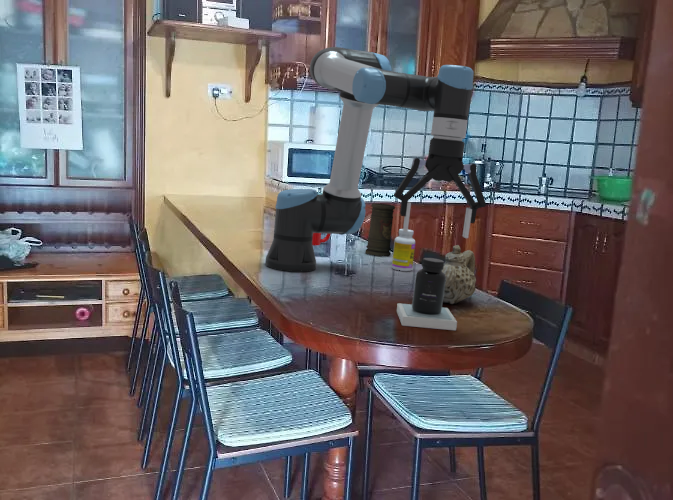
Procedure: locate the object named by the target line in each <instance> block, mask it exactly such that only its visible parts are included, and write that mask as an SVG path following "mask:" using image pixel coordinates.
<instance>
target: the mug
mask: <svg viewBox="0 0 673 500" xmlns="http://www.w3.org/2000/svg"><path fill="white" fill-rule="evenodd" d="M330 238H331V234H328V233H326V235H325V237H324V238H322V233H313V239H312V245H313V246H320V245H321V243H326V242H328V241H329V239H330Z"/></svg>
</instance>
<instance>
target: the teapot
mask: <svg viewBox="0 0 673 500" xmlns="http://www.w3.org/2000/svg"><path fill="white" fill-rule="evenodd" d="M461 250H462V249H461V247H460V245H459V244H457V245H453V246H452V251H450V252H448V253H446V254H445V258H444V260H445V261H444V269H443V270H442V272H443V273H444V274H445V275H446V284H445V291H444V297H443V303H446V304H450V305H454V304H458V303H460V302H461V301H465V300H466V299H467V298H469V297H471V296H472V295H474V294H475V292H476V282H477V279H476V276H475V271H476V269H475V268H476V256H475V253H474V252H473V251H472V250H470V249H468V250H465V251H463V252H461Z"/></svg>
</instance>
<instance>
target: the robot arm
mask: <svg viewBox="0 0 673 500" xmlns="http://www.w3.org/2000/svg"><path fill="white" fill-rule="evenodd" d="M313 55H314V56H313V57H312V58H311V60H310V64H309V73H310V76H311V79H312V80H313V81H314V83H316V85H318V86H319V87H322V88H324V89H328V90H331V91H337V92H339V98H340V100H341V102H342V104H343V105H342V112H341V118H340V121H339V127H338V132H337V133H338V135H337V139H336V146H335V152H334V157H333V162H332V167H331V173H330V178H329V182H328V183H327V184H326V185H324V186H323V188H322V194H319V193H318V192H317V190H316V189H312V188H292V189H291V188H290V189H285V190H281V191H280V192H278V194H277V197H276V203H275V216H274V227H273V228H274V230H273V239H272V242H271V245H270V247H269V249H268V252H267V254H266V256H265V266H266V267H268V268H271V269H274V270H279V271H284V272H285V271H286V272H296V273H297V272H298V273H299V272H302V273H304V272H311V271H315V270H316V268H317V259H316V254H315V250H314V245H312V239H313V233H321V234H327V233H328V234H333V235H341V236H343V235H352V234H355V233H356V232H358V231H359V230H360V229H361V228H362V225H363V224H364V221H365V217H366V211H367V210H366V202H365V200H364V199H363V198H362V192H361V191H360V190H359V188H358V187H359V183H360V177H361V172H362V167H363V161H364V156H365V151H366V148H367V147H366V146H367V142H368V136H369V131H370V126H371V122H372V115H373V112H374V109H375V108H376V107H378V106H379V105H380V106H381V105H382V106H389V107H396V108H404V109H411V110H416V111H419V112H431V111H433V116H432V122H431V123H432V124H431V132H430V135H431V136H432V138H431V139H430V140H429V146H428V154H427V158H426V159H420V158H418V157H414V158H413V159H412V164H411V168H410V169H409V170H408V172H407V174H406V175H405V176H404V178H403V179H402V181H401V182H400V184H399V185H398V187H397V189H396V190H395V192H394V194H393V195H394V197H395V198H396V199H398V200H400V202H401V203H400V212H399V213H400V216H401V217H403V218H404V219H403V225H402V226H403V228H402V229H403V231H404V232H408V230H409V223H410V216H411V207H412V203H411V202H410V200H411V199H412V198H413V197H414V196H415V195H416V194H417V193H418V192H419V191H420V190H421V189H422V188H423V187H424V186H426V184H427V183H429V182H430V181H431V180H434V181H436V182H441V181H442V182H443V181H444V182H446V183H451V182H453V183H454V185H456V187H457V189H458V190H459V192H460V193H461V194H462V196H463V198H464V200H465V202H467V204H468V206H469V207H466V208H465V215H464V222H463V228H462V229H463V230H462V238H465V239H469V235H470V227H471V224H475V222H476V216H477V211H478V210H479V209H480V208H485V207H486V206H487V203H486V200H485V197H484V194H483V190H482V188H481V187H482V186H481V185H480V181H479V179H478V176H477V164H475V163H469V164H468V163H467V164H465V163H464V161H463V159H464V152H465V151H464V150H465V141H463V139H465V138H466V136H467V135H466V134H467V129H468V128H467V127H468V120H469V113H470V108H471V102H472V95H473V89H474V85H473V83H474V75H475V74H474V73H475V72H474V70H473V69H472V68H471V67H469V66H464V65H455V64H443V65H441V66H440V68H439V70H438V74H437V76H425V75H418V74H414V73H413V74H411V73H404V72H398V71H393V69H392V66H391V63H390V61H389V59H388V58H387V56H385V55H383V54H382V53H381V54H379V53H376V52H373V51H367V50H360V49H354V48H353V49H352V48H344V47H341V46H331V47H329V46H328V47H325V48H323V49H321V50H319V51H317V52H316V53H315V54H313ZM423 166H425V168H426V170H427V172H426V173H425V174H423V176H422V178H420V179H419V180H418V181H417V182H416V183H415V184H414V185H413V186H412V187H410V189H409V190H407V191H406V189H407V187H408V185H410V183H411V181H412V179H414V176H415V175H416V173H417V172H418V170H419V169H422V168H423ZM463 170H464V171H465V173H466V174H467V175H468V177H469V180H470V183H471V187H472V189H473V192H474V195H475V196H474V197H475V198H476V201H475V199H474V197H473V196H472V194H471V193H470V191H469V190H468V188H467V187H466V185H465V184H464V182H463V181H462V178H461V177H460V175H459V174H461V173H462V172H463ZM405 191H406V192H405ZM404 192H405V194H403V193H404Z"/></svg>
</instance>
